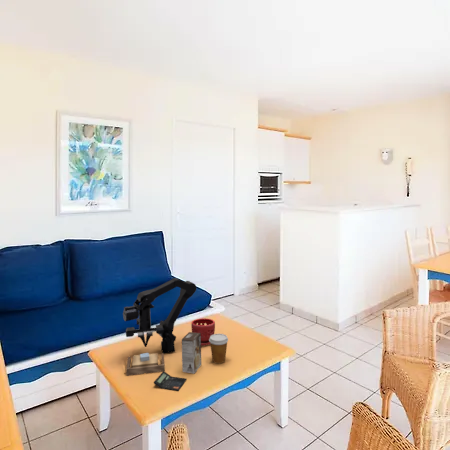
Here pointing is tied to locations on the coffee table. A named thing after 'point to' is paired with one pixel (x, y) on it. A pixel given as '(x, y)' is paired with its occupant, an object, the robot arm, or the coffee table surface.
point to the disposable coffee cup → (218, 347)
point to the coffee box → (191, 352)
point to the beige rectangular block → (152, 361)
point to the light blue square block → (144, 357)
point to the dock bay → (145, 368)
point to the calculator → (169, 382)
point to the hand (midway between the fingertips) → (145, 346)
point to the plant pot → (204, 329)
